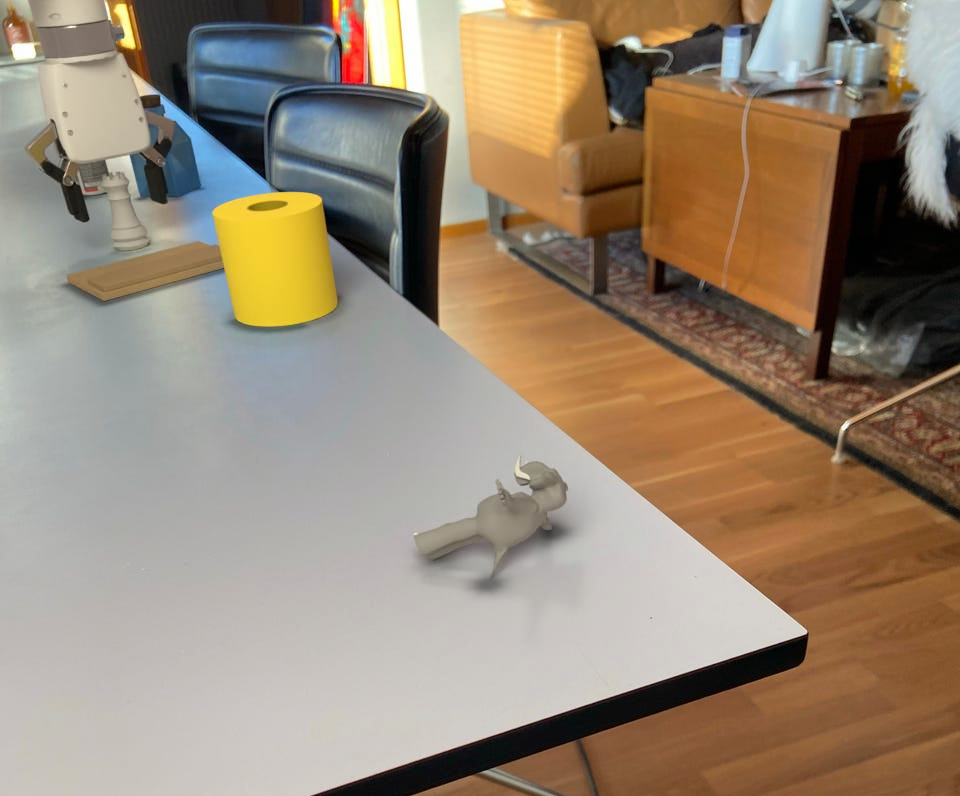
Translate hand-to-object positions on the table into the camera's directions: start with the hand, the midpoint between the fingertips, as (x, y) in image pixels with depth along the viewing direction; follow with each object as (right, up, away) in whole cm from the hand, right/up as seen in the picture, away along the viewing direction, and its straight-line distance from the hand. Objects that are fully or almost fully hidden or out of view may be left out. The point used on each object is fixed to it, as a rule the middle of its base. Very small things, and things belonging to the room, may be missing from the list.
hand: (121, 211), depth 119 cm
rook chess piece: (0, -3, +2) cm, 4 cm away
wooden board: (+6, -10, -7) cm, 14 cm away
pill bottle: (-14, +14, +28) cm, 34 cm away
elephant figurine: (+43, -46, -60) cm, 87 cm away
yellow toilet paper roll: (+23, -18, -20) cm, 36 cm away
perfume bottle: (-2, +13, +25) cm, 28 cm away
